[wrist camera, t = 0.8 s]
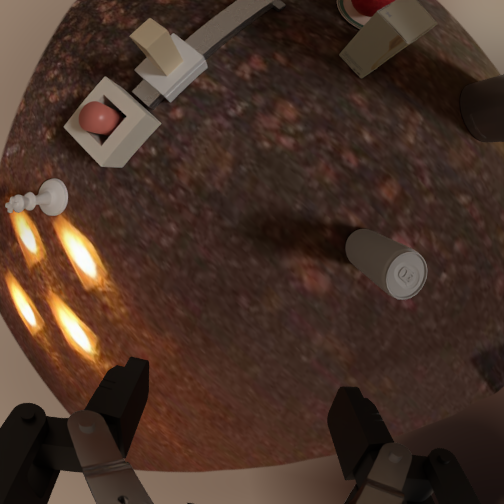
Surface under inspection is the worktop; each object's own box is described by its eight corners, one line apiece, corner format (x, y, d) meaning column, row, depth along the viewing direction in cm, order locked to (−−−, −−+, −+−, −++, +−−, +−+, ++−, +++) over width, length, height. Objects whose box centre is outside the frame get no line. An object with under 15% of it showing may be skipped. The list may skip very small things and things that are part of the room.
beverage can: (363, 272, 38) (407, 309, 26) (335, 251, 37) (374, 284, 25) (385, 241, 37) (436, 268, 25) (358, 219, 36) (406, 239, 24)
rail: (256, -13, 28) (257, -21, 26) (284, 7, 29) (287, 0, 27) (132, 91, 31) (126, 86, 29) (158, 115, 32) (154, 111, 30)
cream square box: (123, 88, 31) (104, 75, 25) (161, 123, 33) (146, 113, 27) (86, 131, 32) (62, 126, 26) (122, 167, 34) (101, 166, 28)
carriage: (178, 43, 30) (155, -2, 19) (207, 67, 31) (194, 24, 20) (142, 77, 31) (105, 43, 20) (170, 102, 32) (141, 73, 21)
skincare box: (360, 80, 32) (407, 46, 20) (336, 54, 31) (374, 11, 19) (391, 57, 31) (440, 23, 19) (368, 33, 30) (410, -9, 18)
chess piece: (72, 185, 34) (26, 190, 24) (62, 220, 35) (17, 235, 25) (46, 173, 33) (-2, 176, 23) (36, 208, 34) (-10, 219, 24)
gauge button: (112, 105, 29) (92, 95, 24) (128, 120, 29) (110, 112, 24) (94, 125, 29) (73, 119, 24) (110, 141, 30) (90, 137, 25)
